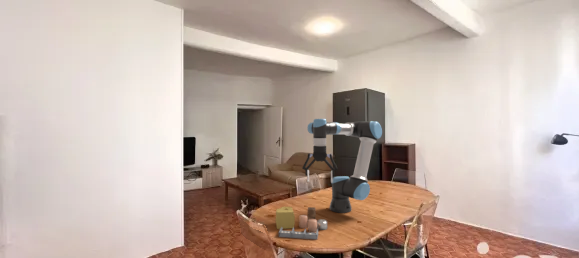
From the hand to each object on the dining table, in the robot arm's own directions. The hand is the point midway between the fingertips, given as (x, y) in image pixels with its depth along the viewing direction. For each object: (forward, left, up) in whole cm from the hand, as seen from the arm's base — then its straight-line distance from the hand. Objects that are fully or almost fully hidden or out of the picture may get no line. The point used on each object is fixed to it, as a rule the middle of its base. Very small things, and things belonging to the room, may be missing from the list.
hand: (319, 181), depth 154 cm
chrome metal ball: (-1, +1, -27) cm, 27 cm away
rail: (+11, +13, -27) cm, 31 cm away
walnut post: (+6, -9, -27) cm, 29 cm away
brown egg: (+10, 0, -27) cm, 29 cm away
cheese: (+21, +1, -27) cm, 34 cm away
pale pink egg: (+4, +6, -27) cm, 28 cm away
